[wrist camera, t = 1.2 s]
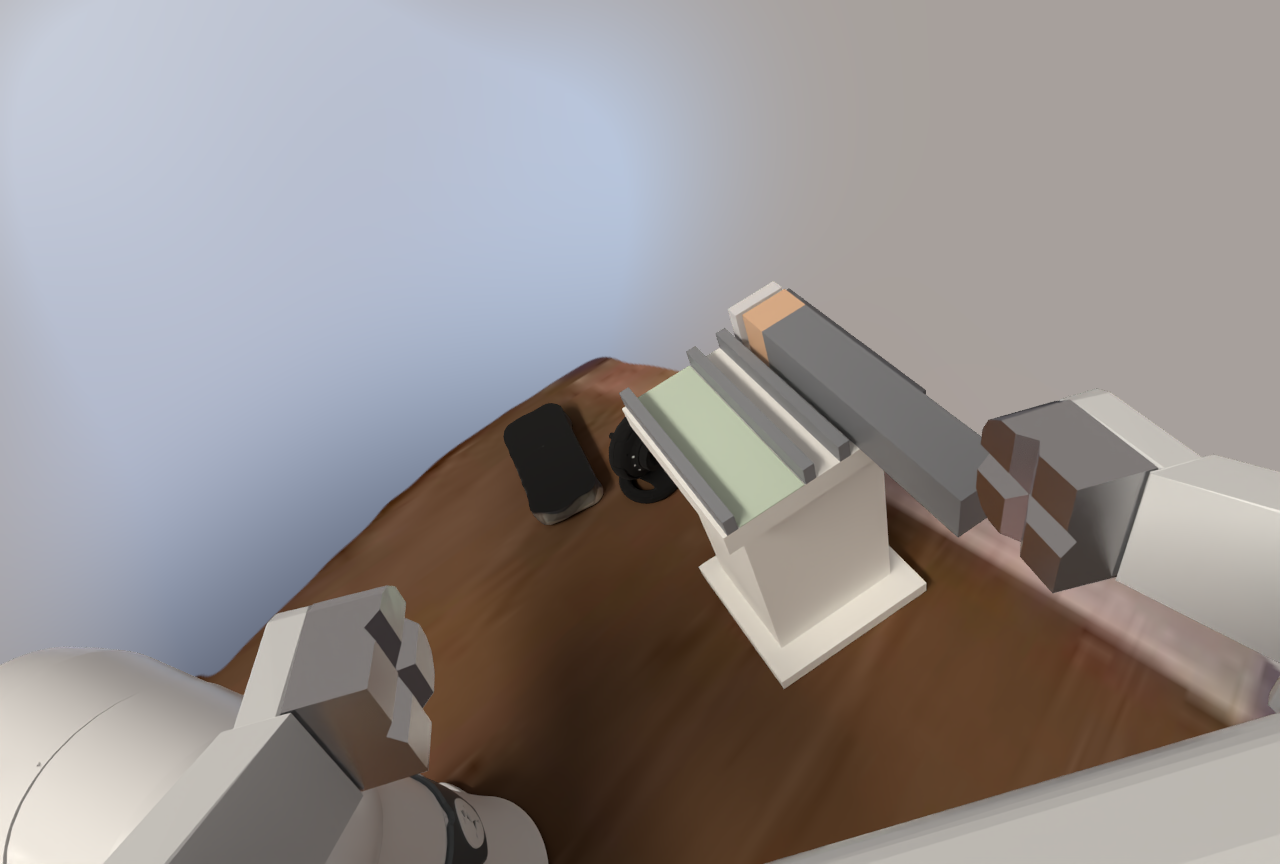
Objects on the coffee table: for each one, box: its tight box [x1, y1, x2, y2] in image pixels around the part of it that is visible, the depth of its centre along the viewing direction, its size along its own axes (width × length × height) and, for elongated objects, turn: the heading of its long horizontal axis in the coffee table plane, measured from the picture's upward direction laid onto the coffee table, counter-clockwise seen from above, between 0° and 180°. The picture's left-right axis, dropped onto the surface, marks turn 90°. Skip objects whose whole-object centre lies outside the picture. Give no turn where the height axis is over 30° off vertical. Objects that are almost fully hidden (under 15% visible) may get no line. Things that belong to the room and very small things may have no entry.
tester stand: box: [619, 281, 926, 689], centre depth 56 cm, size 16×14×29 cm
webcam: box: [609, 417, 677, 503], centre depth 77 cm, size 8×8×10 cm
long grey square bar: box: [742, 289, 990, 537], centre depth 44 cm, size 4×20×4 cm, turn 28°
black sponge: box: [504, 403, 603, 525], centre depth 84 cm, size 16×8×4 cm, turn 22°
